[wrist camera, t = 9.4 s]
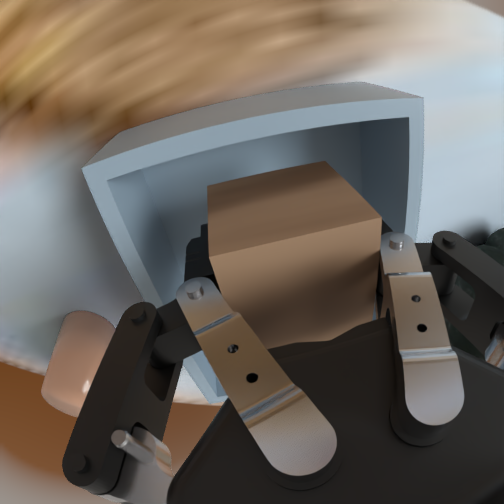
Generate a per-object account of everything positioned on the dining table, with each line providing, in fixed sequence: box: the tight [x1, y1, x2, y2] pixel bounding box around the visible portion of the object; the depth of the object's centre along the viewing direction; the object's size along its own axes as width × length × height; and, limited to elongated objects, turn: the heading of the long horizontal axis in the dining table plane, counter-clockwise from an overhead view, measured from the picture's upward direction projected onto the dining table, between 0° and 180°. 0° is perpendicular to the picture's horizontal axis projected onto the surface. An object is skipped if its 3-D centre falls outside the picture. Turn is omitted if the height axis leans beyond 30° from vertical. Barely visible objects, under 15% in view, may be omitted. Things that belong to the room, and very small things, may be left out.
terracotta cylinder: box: [41, 311, 116, 417], centre depth 20 cm, size 5×5×7 cm
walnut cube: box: [207, 161, 382, 349], centre depth 12 cm, size 5×5×5 cm
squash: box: [443, 228, 504, 361], centre depth 21 cm, size 14×15×15 cm
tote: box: [81, 82, 424, 404], centre depth 17 cm, size 18×14×6 cm
